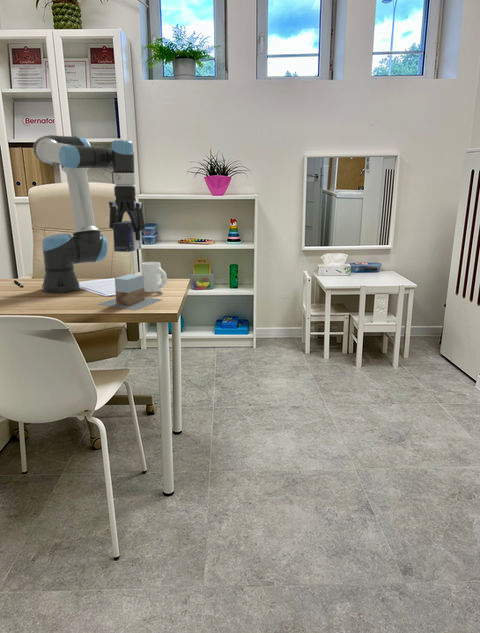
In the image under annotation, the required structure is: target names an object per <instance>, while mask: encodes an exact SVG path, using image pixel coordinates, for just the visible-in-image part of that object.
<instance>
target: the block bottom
mask: <svg viewBox="0 0 480 633" xmlns="http://www.w3.org/2000/svg"><path fill="white" fill-rule="evenodd" d="M145 297H146V295H145V291H144V288H142V289H139V290H136V291H133V292H130V293H125V292H118V291H115V298H116V304H120V305H127V306H130V305H133V304H135V303H138V302H141V301H144V300H145Z"/></svg>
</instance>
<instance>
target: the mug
mask: <svg viewBox="0 0 480 633" xmlns="http://www.w3.org/2000/svg"><path fill="white" fill-rule="evenodd" d="M141 275H144V292H146V293H156V292H160V293H161V292H162V288H164V287H165V286H166V284H167V283H168V277H167V273H166V271H165V270H163V269H162V267H161V262H160V261H145V262H142V263H141Z"/></svg>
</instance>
